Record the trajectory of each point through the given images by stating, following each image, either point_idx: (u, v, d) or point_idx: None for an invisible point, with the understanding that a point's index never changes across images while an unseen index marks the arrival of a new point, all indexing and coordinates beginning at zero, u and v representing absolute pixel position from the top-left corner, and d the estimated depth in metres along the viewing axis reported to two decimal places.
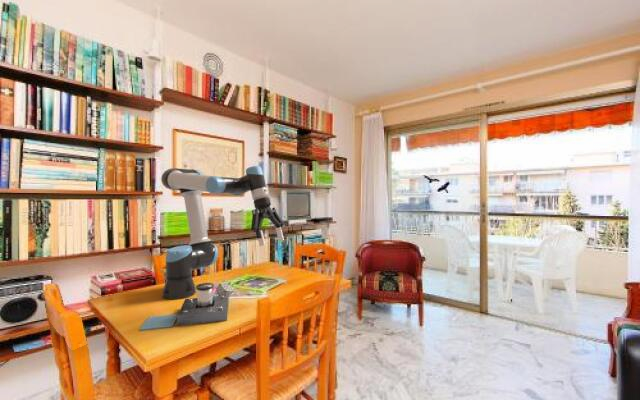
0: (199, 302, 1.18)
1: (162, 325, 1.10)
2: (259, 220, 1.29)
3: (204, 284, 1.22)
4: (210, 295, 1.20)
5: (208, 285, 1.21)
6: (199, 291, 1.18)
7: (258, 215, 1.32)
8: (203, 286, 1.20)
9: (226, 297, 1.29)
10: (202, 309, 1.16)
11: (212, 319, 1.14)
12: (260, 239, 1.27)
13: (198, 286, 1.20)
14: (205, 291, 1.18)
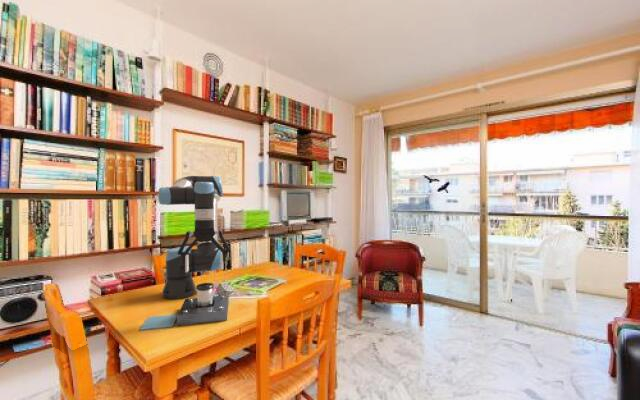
0: (199, 302, 1.18)
1: (162, 325, 1.10)
2: None
3: (204, 284, 1.22)
4: (210, 295, 1.20)
5: (208, 285, 1.21)
6: (199, 291, 1.18)
7: None
8: (203, 286, 1.20)
9: (226, 297, 1.29)
10: (202, 309, 1.16)
11: (212, 319, 1.14)
12: None
13: (198, 286, 1.20)
14: (205, 291, 1.18)
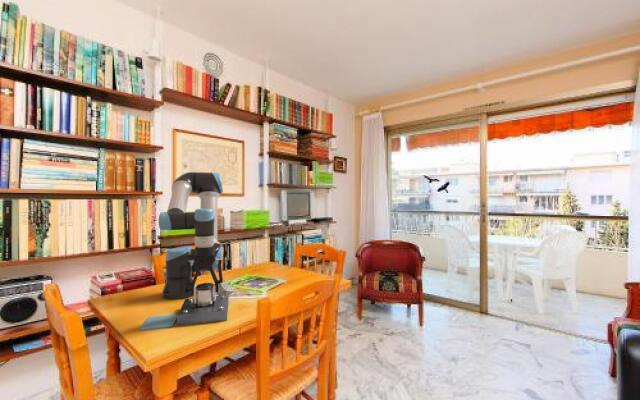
0: (199, 302, 1.18)
1: (162, 325, 1.10)
2: (195, 273, 1.20)
3: (204, 284, 1.22)
4: (210, 295, 1.20)
5: (208, 285, 1.21)
6: (199, 291, 1.18)
7: None
8: (203, 286, 1.20)
9: (226, 297, 1.29)
10: (202, 309, 1.16)
11: (212, 319, 1.14)
12: None
13: (198, 286, 1.20)
14: (205, 291, 1.18)
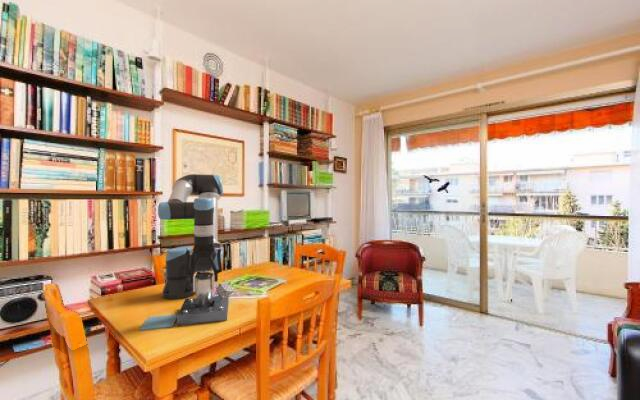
0: (198, 291, 1.19)
1: (162, 325, 1.10)
2: (194, 262, 1.20)
3: (203, 273, 1.22)
4: (209, 284, 1.20)
5: (207, 274, 1.21)
6: (198, 280, 1.18)
7: None
8: (202, 275, 1.20)
9: (226, 297, 1.29)
10: (202, 309, 1.16)
11: (212, 319, 1.14)
12: None
13: (197, 275, 1.20)
14: (204, 280, 1.18)
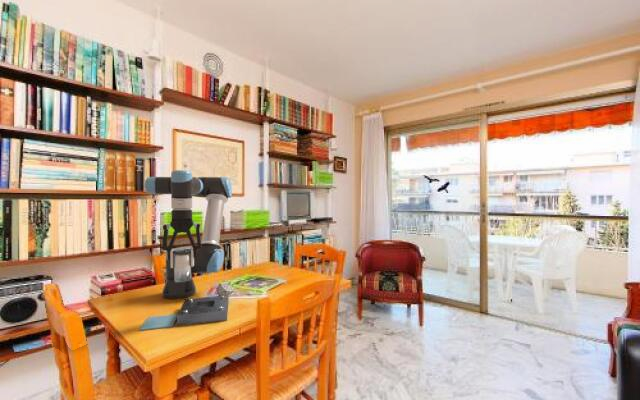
0: (176, 267, 1.14)
1: (162, 325, 1.10)
2: None
3: (182, 249, 1.18)
4: (188, 260, 1.16)
5: (186, 250, 1.16)
6: (176, 255, 1.14)
7: None
8: (180, 251, 1.15)
9: (226, 297, 1.29)
10: (202, 309, 1.16)
11: (212, 319, 1.14)
12: (171, 260, 1.15)
13: (175, 251, 1.15)
14: (182, 255, 1.14)
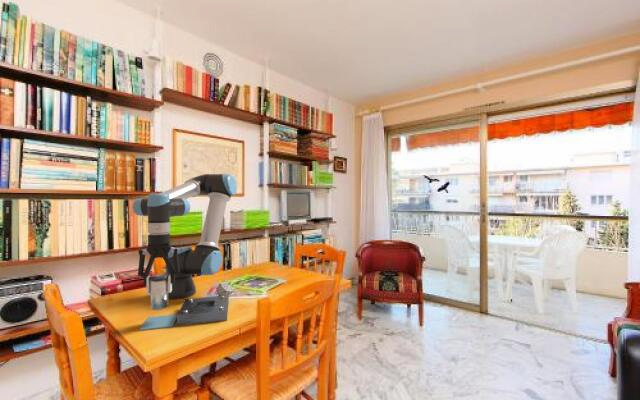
0: (152, 294, 1.10)
1: (162, 325, 1.10)
2: None
3: (159, 275, 1.14)
4: (164, 286, 1.11)
5: (163, 276, 1.12)
6: (152, 282, 1.10)
7: None
8: (157, 277, 1.11)
9: (226, 297, 1.29)
10: (202, 309, 1.16)
11: (212, 319, 1.14)
12: None
13: (151, 277, 1.11)
14: (158, 282, 1.10)
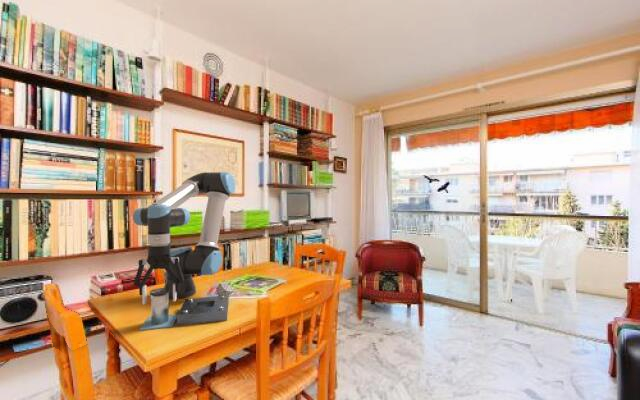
0: (152, 309, 1.10)
1: (162, 325, 1.10)
2: (146, 273, 1.11)
3: (159, 289, 1.14)
4: (165, 301, 1.12)
5: (163, 290, 1.13)
6: (152, 297, 1.10)
7: None
8: (157, 291, 1.11)
9: (226, 297, 1.29)
10: (202, 309, 1.16)
11: (212, 319, 1.14)
12: None
13: (152, 291, 1.11)
14: (159, 297, 1.10)
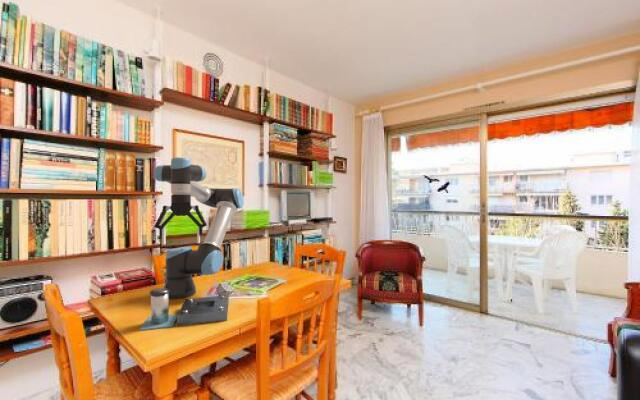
0: (152, 309, 1.10)
1: (162, 325, 1.10)
2: (167, 218, 1.23)
3: (159, 289, 1.14)
4: (165, 301, 1.12)
5: (163, 290, 1.13)
6: (152, 297, 1.10)
7: None
8: (157, 292, 1.11)
9: (226, 297, 1.29)
10: (202, 309, 1.16)
11: (212, 319, 1.14)
12: None
13: (152, 291, 1.11)
14: (159, 297, 1.10)
